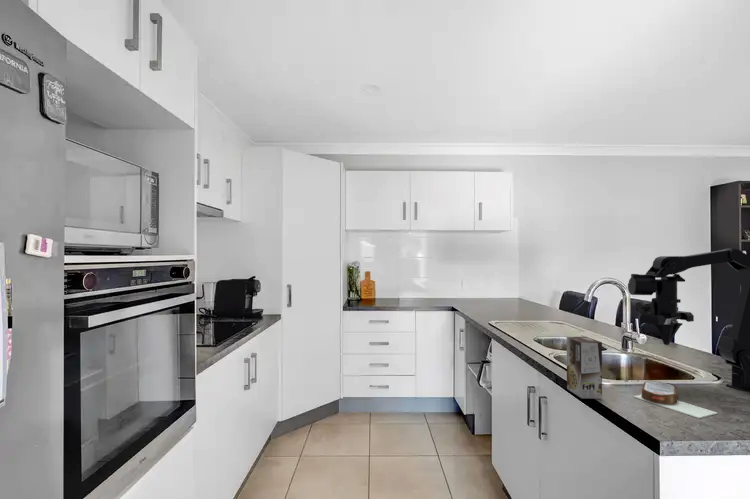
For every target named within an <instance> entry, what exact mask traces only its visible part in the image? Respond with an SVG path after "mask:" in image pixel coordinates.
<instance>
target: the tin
mask: <svg viewBox="0 0 750 499" xmlns="http://www.w3.org/2000/svg"><path fill="white" fill-rule="evenodd" d="M640 395H641V397H642V398H643V399H645V400H647V401H650V402H654V403H659V404H676V403H677V400H678V396H679V395H678V386H676V385H675V384H673V383H669V382H661V381H656V380H645V381H644V382H643V385H642V388H641V394H640ZM647 401H646V402H647ZM650 402H649V403H650Z"/></svg>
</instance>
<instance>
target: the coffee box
mask: <svg viewBox="0 0 750 499" xmlns="http://www.w3.org/2000/svg"><path fill="white" fill-rule="evenodd" d="M565 339H566V389H567V390H568V391H569V392H571V393H573V394H574V395H576V396H577V397H579V398H580V399H599V400H600V399H601V400H602V398H603V342H602V341H599V340H596V339H594V338H592V337H588V336H566V338H565Z"/></svg>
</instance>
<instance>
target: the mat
mask: <svg viewBox="0 0 750 499" xmlns="http://www.w3.org/2000/svg"><path fill="white" fill-rule="evenodd" d="M641 395H642V394H638V395H633V398H635V399H638V400H641V401H644V402H647V403H650V404H653V405H656V406H659V407H662V408H666V409H668V410H671V411H675V412H678V413H681V414H683V415H687V416H690V417H693V418H696V419H700V420H701V419H703V418H707V417H711V416H714V415H718V413H719V412H716V411H714V410H710V409H706V408H704V407H700V406H697V405H694V404H690V403H687V402H684V401H680V400H678V399H677V403H676V404H659V403H654V402H650V401H647V400H645V399H643V398H642V397H641Z"/></svg>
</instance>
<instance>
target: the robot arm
mask: <svg viewBox="0 0 750 499" xmlns="http://www.w3.org/2000/svg"><path fill="white" fill-rule="evenodd" d="M722 263H727V264H728V265H729V266H730V267H731V268H732V269H734V270H735V271H736V272H738V276H737V278H738V282H739V286H740V287H741V289H740V293H739V295H738V296H739V297H738V301H737V304H736V309H735V314H734V317H733V321H732V326H731V329H730V332H729V333H728V334H727V336H725V335H720V337H719V343H718V345H717V346H716V347H717V348H718V350H719V352H718V353H719V354H720V356H721V358H723V359H724V362H725V364H726V365H729V366H730V368H731V373H730V374H731V381H730V383H726V384H725V386H726V387H730V388H734V389H739V390H742V391H745V392H750V254H747V253H745V252H743V251H741V250H740V249H739V248H723V249H719V250H714V251H713V250H712V251H709V252H708V251H707V252H702V253H696V254H690V255H674V256H673V255H672V256H671V255H670V256H669V255H664V256H663V255H660V256H657V257H656V258H654V260H653V262H652V265H651V267H649V269H648V270H647V271H646V273H645V274H639V273H631V274H630V278H629V280H628V283H627V288H628V289H627V290H628V293H629V295H631V296H653V294H655V297H652V298H651V302H649V303H645V302H644V301H637V302H635V304H634V311H635V312H636V313H638V314H639V315H638V323H642V324H648V325H649V324H650V325H653V326H655V327H656V328H657V330H658V332H659V335H660V338H661V340H662V343H663V345H666V346H668V345H670V343H671V342H672V341H673V340H674V339H673V338H674V337H675V336H676V334H677V333H678V331H679V329H680V327H681V326H683V322H682V323H681V322H679V320H681V321H686V322H688V323H689V322H694V321H695V318H694V317H695V316H694V314H693V313H692V312H691V311H681V310H678V303H681V302H682V301H681V299H680V298H679V299H678V282H679V283H683V282H686V279H685V278H683V277H682V276H681V275H680V273H682V272H685V271H687V270H689V269H693V268H697V267H702V266H711V265H716V264H722Z"/></svg>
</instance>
